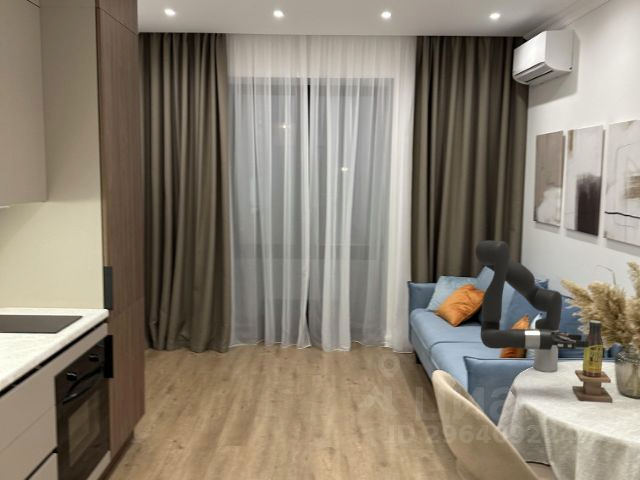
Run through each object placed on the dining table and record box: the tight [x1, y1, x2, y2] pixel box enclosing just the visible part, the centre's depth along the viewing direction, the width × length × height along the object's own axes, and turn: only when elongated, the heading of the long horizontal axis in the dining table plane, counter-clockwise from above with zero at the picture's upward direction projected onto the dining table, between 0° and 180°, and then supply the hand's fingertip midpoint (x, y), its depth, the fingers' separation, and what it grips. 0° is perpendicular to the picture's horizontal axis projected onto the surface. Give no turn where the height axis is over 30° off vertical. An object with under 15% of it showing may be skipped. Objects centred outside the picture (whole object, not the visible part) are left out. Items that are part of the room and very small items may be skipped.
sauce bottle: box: [582, 319, 604, 377], centre depth 216 cm, size 7×6×20 cm
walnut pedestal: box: [571, 369, 613, 404], centre depth 218 cm, size 11×11×8 cm
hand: (584, 340), depth 217 cm, fingers open, 8 cm apart
